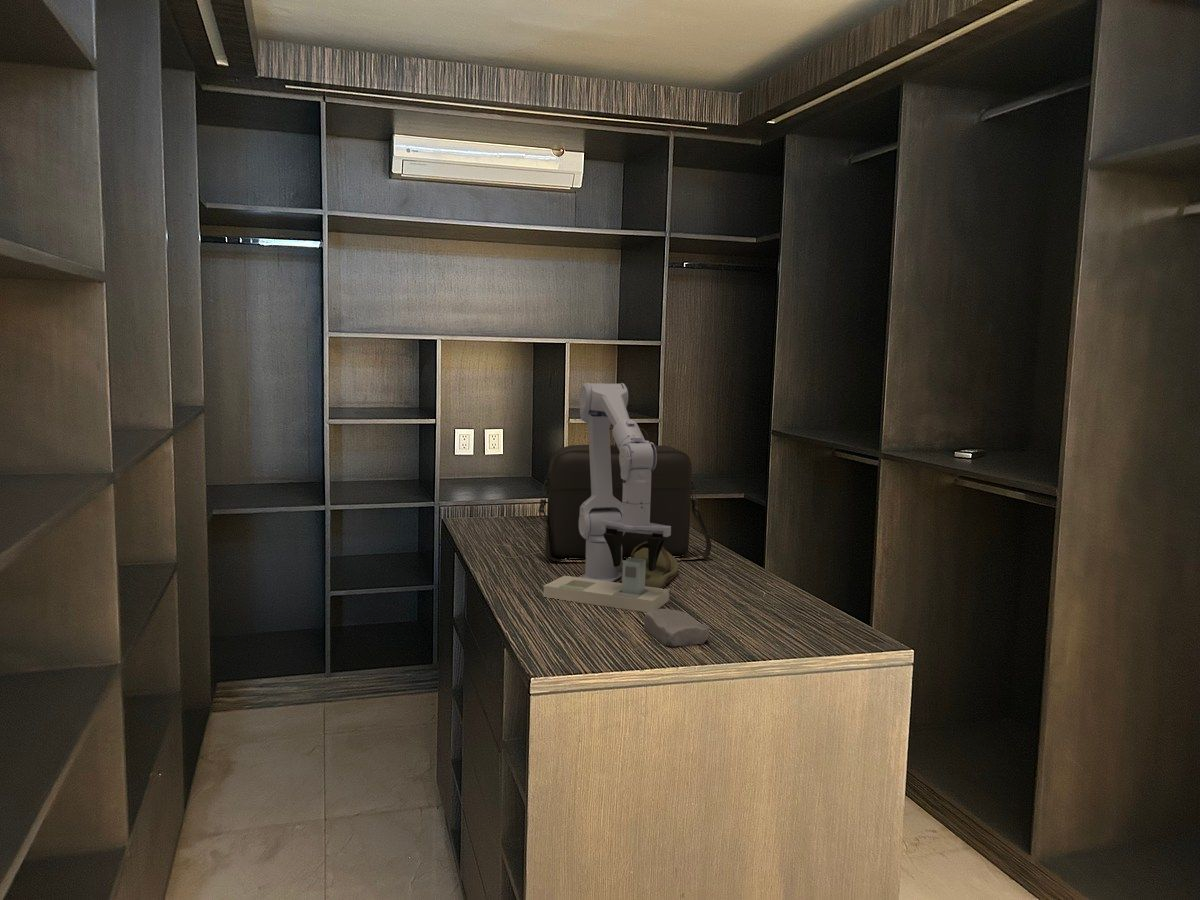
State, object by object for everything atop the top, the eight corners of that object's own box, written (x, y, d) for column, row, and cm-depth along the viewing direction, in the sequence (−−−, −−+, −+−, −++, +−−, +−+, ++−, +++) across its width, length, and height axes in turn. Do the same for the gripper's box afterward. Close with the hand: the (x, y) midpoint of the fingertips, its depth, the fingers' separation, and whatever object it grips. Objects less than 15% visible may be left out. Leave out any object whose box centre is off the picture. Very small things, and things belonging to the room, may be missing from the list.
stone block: (684, 634, 177) (637, 628, 173) (690, 610, 177) (643, 604, 173) (713, 656, 166) (664, 651, 162) (720, 631, 166) (670, 624, 162)
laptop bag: (696, 550, 244) (701, 424, 241) (712, 561, 232) (717, 428, 228) (533, 553, 235) (536, 422, 232) (540, 564, 223) (543, 427, 220)
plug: (628, 600, 193) (629, 557, 192) (644, 602, 192) (645, 559, 191) (620, 604, 190) (621, 561, 189) (637, 607, 188) (638, 563, 187)
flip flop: (635, 564, 227) (636, 530, 226) (683, 568, 224) (684, 534, 224) (608, 594, 199) (609, 555, 198) (662, 598, 196) (664, 559, 195)
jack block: (564, 586, 203) (564, 574, 202) (668, 601, 193) (669, 588, 193) (543, 597, 193) (543, 584, 193) (652, 613, 184) (652, 599, 184)
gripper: (595, 501, 188) (593, 567, 189) (663, 507, 182) (661, 576, 184) (609, 497, 194) (607, 561, 196) (675, 503, 189) (672, 568, 190)
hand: (634, 567), depth 190 cm, fingers open, 7 cm apart
